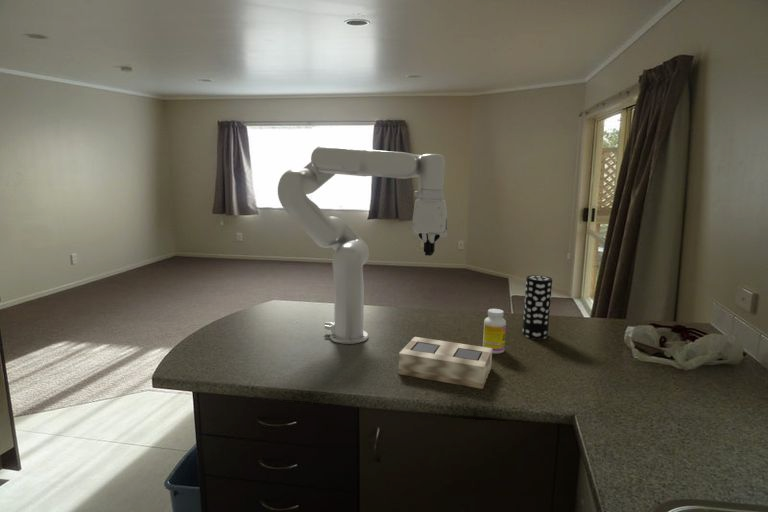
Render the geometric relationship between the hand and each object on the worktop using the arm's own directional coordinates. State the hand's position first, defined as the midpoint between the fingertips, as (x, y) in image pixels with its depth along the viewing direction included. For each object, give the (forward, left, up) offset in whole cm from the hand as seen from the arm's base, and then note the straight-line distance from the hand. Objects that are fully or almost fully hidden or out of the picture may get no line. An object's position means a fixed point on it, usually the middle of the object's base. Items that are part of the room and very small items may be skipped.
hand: (428, 254), depth 148 cm
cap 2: (+17, -18, -27) cm, 37 cm away
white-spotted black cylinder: (+32, +23, -29) cm, 49 cm away
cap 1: (+5, -18, -27) cm, 33 cm away
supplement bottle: (+21, +3, -29) cm, 36 cm away
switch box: (+11, -18, -29) cm, 36 cm away
